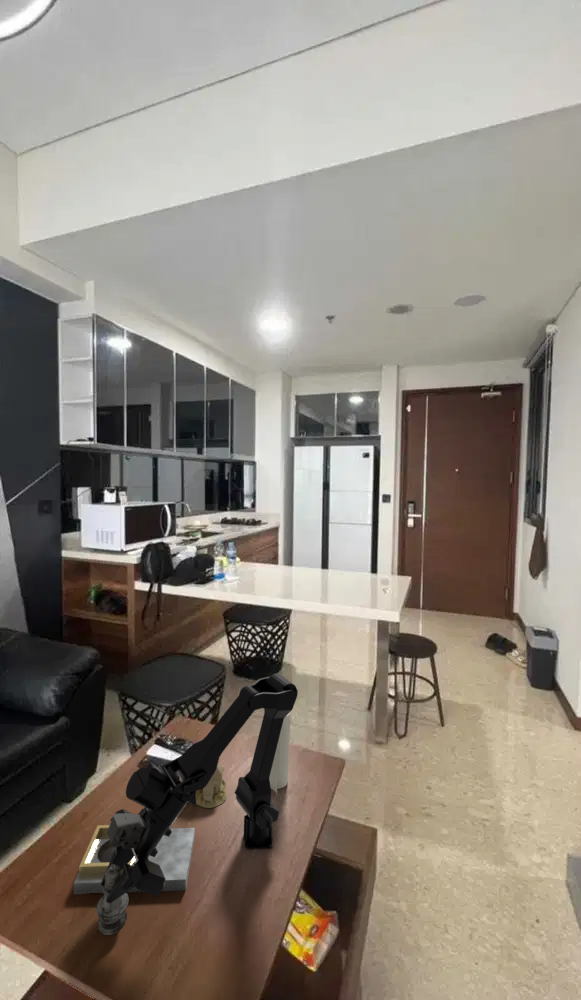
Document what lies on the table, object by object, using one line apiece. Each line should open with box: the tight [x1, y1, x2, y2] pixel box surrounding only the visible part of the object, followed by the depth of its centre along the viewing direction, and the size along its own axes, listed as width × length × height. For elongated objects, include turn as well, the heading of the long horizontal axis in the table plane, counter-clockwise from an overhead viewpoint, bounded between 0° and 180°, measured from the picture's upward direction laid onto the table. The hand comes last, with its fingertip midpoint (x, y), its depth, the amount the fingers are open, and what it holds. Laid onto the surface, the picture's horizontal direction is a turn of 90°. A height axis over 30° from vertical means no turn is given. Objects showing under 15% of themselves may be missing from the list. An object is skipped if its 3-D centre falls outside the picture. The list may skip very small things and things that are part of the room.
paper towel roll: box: [269, 712, 291, 795], centre depth 122 cm, size 7×6×21 cm
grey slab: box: [73, 824, 196, 895], centre depth 96 cm, size 23×13×4 cm, turn 94°
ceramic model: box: [179, 762, 227, 809], centre depth 118 cm, size 14×11×10 cm
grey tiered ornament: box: [95, 864, 130, 936], centre depth 84 cm, size 6×6×12 cm
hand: (105, 893), depth 83 cm, fingers closed on grey tiered ornament, 4 cm apart
